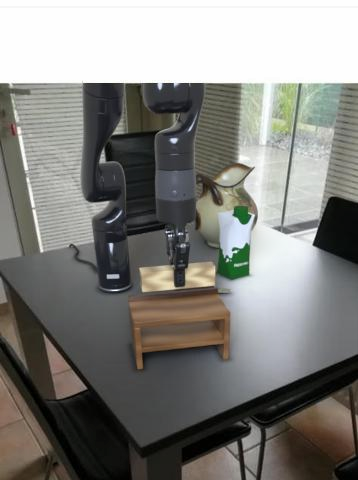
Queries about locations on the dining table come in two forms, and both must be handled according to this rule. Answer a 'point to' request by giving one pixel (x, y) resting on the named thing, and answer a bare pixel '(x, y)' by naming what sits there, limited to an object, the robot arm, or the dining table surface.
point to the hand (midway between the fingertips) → (177, 282)
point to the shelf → (178, 321)
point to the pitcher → (222, 199)
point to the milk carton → (235, 242)
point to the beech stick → (164, 277)
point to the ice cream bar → (205, 288)
